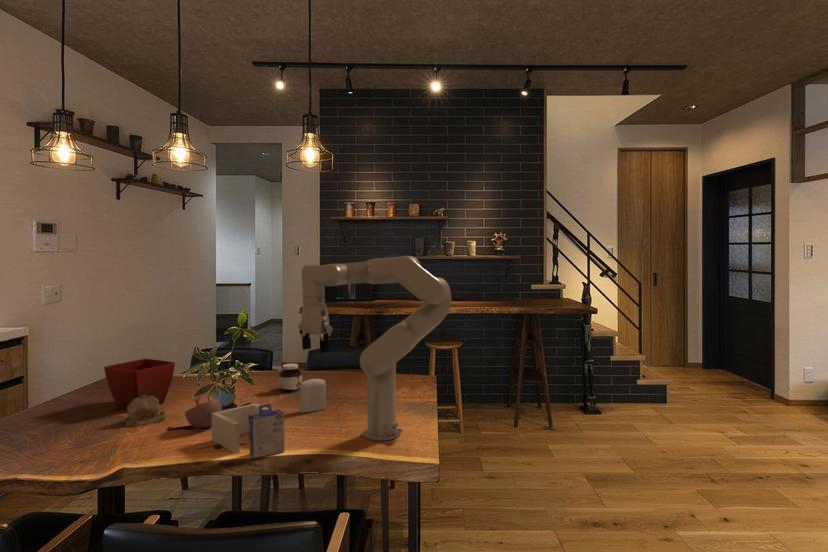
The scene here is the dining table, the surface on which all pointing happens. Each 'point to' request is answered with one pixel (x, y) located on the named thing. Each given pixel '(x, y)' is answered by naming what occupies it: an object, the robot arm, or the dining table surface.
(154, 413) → the ceramic model
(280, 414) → the ink cartridge box
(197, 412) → the mortar and pestle
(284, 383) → the spread jar
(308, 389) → the photo printer
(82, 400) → the dining table surface
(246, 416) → the cubby
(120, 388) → the plant pot
